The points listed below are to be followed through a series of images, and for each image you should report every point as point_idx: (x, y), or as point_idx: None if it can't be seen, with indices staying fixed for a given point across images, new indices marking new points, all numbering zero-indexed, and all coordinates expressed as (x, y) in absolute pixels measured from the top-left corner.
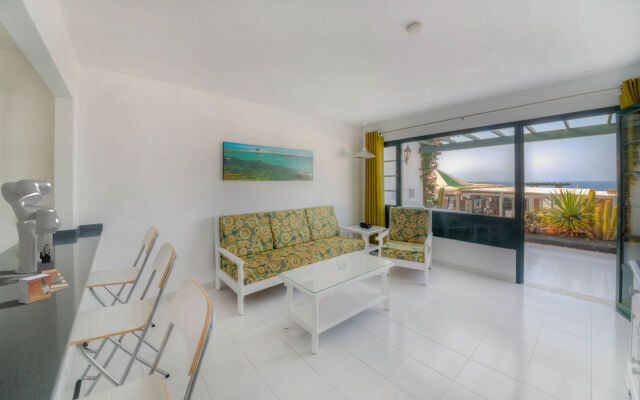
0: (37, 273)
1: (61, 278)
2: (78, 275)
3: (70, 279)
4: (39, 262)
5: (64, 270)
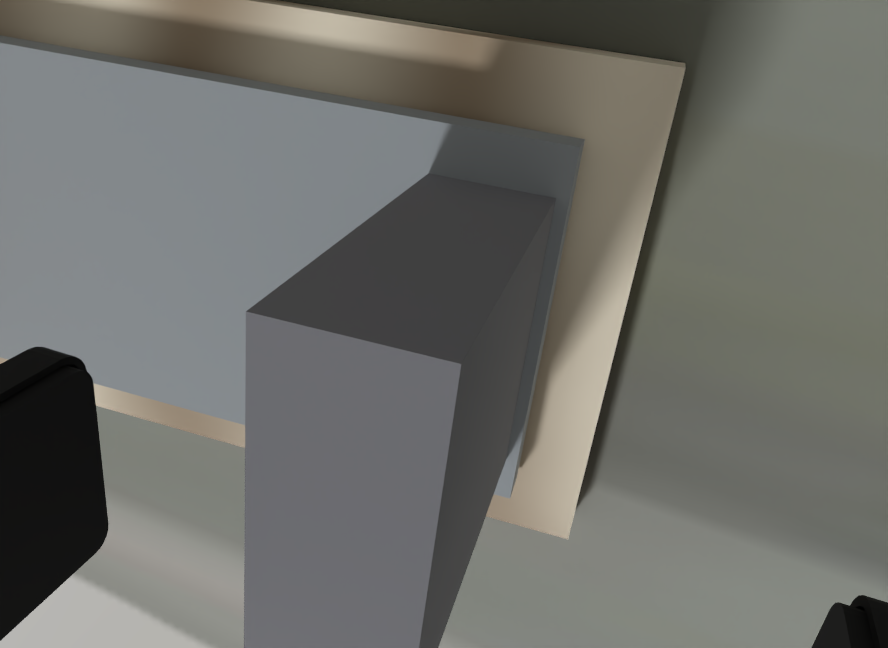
0: (470, 191)
1: None
2: (172, 568)
3: None
4: (251, 355)
5: (729, 643)
